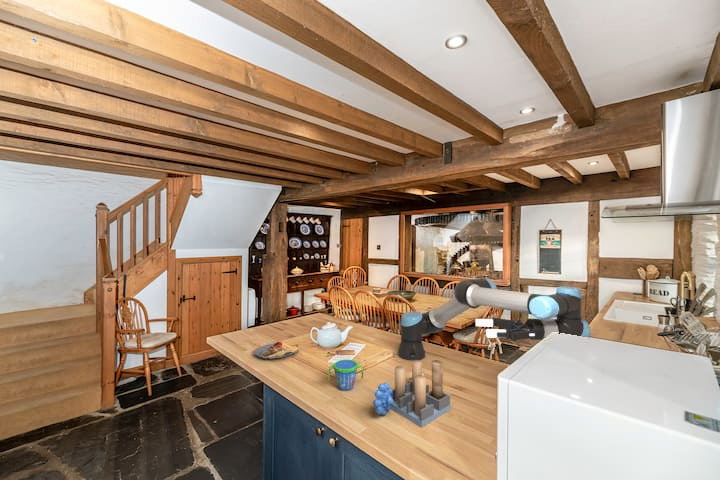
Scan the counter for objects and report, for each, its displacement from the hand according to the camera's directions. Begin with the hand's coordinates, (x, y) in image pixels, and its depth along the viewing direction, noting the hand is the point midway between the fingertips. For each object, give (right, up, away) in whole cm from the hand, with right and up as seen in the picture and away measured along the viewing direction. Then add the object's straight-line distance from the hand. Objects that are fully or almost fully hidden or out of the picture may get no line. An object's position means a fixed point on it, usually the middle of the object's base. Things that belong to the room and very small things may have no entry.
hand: (480, 327), depth 113 cm
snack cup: (-51, -32, +20) cm, 64 cm away
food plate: (-93, -32, +60) cm, 115 cm away
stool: (-23, -32, +3) cm, 39 cm away
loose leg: (-16, -30, +2) cm, 34 cm away
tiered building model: (-20, -32, +20) cm, 43 cm away
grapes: (-36, -32, -2) cm, 48 cm away
